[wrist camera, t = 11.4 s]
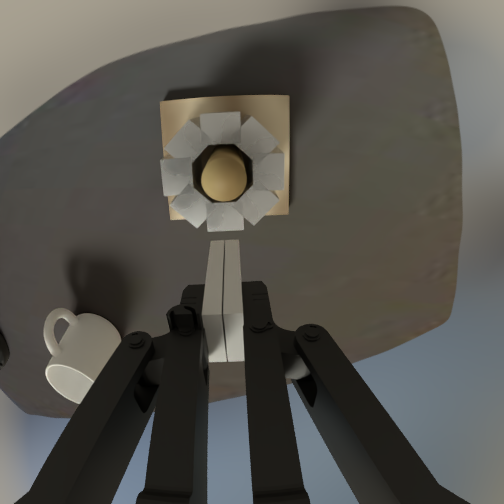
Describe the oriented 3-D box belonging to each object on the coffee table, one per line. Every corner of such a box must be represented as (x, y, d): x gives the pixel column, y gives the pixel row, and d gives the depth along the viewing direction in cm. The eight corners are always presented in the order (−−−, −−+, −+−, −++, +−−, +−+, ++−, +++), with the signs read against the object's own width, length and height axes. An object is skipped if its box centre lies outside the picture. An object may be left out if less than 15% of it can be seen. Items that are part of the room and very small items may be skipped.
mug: (48, 298, 35) (15, 346, 26) (85, 282, 34) (52, 335, 25) (94, 356, 40) (74, 407, 31) (133, 347, 39) (116, 403, 30)
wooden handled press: (172, 215, 31) (150, 263, 22) (162, 101, 25) (128, 100, 16) (286, 210, 32) (308, 255, 22) (287, 95, 26) (314, 90, 17)
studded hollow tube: (182, 205, 29) (168, 233, 23) (174, 115, 25) (156, 118, 19) (272, 201, 30) (283, 228, 24) (271, 110, 26) (284, 111, 19)
